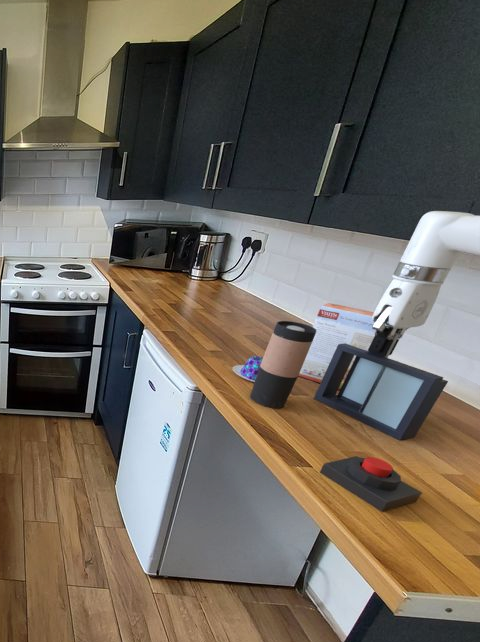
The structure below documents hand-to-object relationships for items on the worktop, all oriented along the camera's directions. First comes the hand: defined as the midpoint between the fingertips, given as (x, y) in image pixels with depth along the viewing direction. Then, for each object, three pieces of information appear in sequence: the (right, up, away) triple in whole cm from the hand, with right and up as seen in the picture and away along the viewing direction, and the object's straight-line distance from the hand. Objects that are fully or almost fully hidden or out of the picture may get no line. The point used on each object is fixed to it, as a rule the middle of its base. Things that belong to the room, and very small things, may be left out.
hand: (379, 352), depth 91 cm
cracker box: (+5, -8, +20) cm, 22 cm away
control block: (-22, -24, -19) cm, 38 cm away
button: (-22, -21, -20) cm, 36 cm away
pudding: (-13, -7, +21) cm, 26 cm away
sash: (0, -12, +5) cm, 14 cm away
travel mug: (-19, -12, +9) cm, 24 cm away
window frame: (-1, -15, +4) cm, 16 cm away
